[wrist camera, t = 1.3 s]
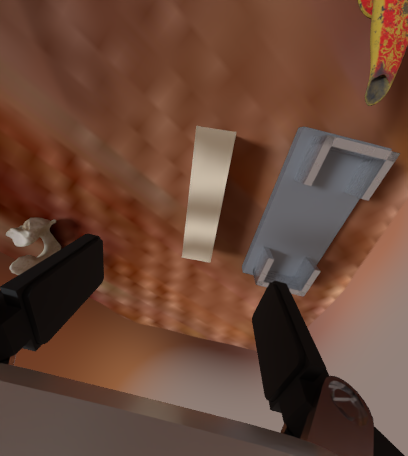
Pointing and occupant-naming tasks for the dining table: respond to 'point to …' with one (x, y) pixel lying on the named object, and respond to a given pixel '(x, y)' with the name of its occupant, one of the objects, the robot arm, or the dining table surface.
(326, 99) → the dining table surface
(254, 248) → the slat tray
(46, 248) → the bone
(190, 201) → the birch slat
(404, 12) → the magic lamp
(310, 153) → the grey long frame
